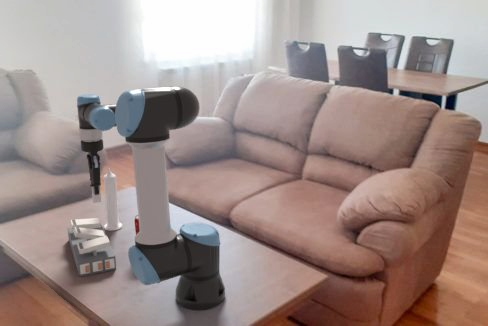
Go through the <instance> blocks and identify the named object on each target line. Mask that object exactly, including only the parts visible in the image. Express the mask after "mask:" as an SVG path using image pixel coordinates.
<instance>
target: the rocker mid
mask: <svg viewBox="0 0 488 326" xmlns="http://www.w3.org/2000/svg"><path fill="white" fill-rule="evenodd" d="M103 230H104V229H103ZM103 230H96V229H87V228H79V227H74V234H75V237H78V238H88V239H96V238H100V237H103V236H105V234H106V233H105V234H104V232H105V231H104V232H103Z"/></svg>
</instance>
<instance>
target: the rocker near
mask: <svg viewBox="0 0 488 326" xmlns="http://www.w3.org/2000/svg"><path fill="white" fill-rule="evenodd" d="M110 245H111V242H110V240H109V237H108V235H106V236H103V237H100V238H96V239H92V240H88V241H85V242H81V243H77V246H78V250H79V253H80V254H83V253H87V252H91V251H94V250H98V249H101V248H105V247H109V246H110Z"/></svg>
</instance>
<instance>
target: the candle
mask: <svg viewBox="0 0 488 326" xmlns="http://www.w3.org/2000/svg"><path fill="white" fill-rule="evenodd" d="M103 183H104V199H105V211H106V212H105V213H106V214H105V215H106V223H105V224H104V226H103V230H104V231H108V232H109V231H110V232H113V231H114V232H115V231H118V230H120V229H122V228H123V223H121V222H120V221H119V219H120V218H119V217H120V216H119V205H118V188H117V175H116V174H114V173H113V172H112V171H111V168H110V167H108V169H107V173H106V174H104V175H103Z"/></svg>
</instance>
